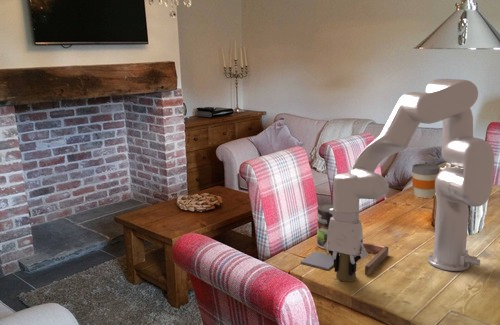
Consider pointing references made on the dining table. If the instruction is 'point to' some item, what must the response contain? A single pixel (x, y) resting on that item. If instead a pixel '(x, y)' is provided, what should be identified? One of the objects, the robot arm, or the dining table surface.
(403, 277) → the dining table surface
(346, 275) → the tan hourglass shape
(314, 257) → the coaster
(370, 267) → the brown u-shaped frame
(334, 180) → the robot arm
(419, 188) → the reusable coffee cup
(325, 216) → the coffee can
